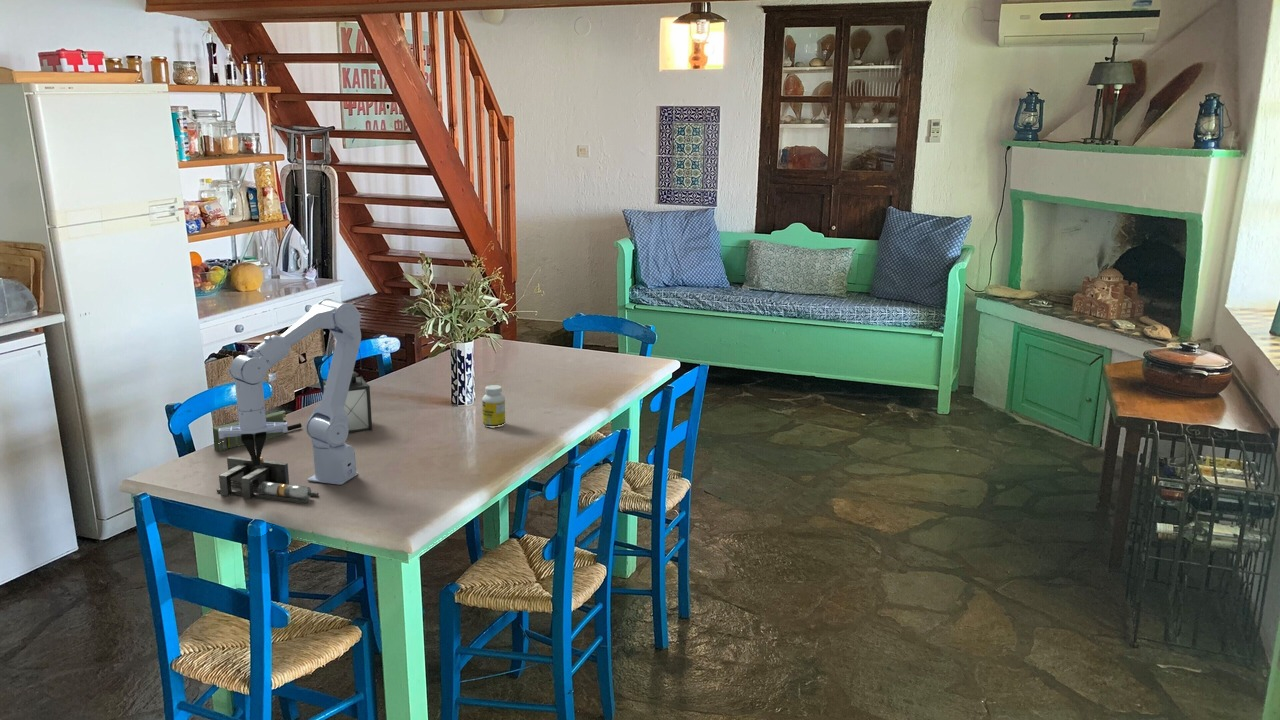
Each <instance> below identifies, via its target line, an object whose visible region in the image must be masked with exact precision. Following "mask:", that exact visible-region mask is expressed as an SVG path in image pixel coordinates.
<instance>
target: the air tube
mask: <svg viewBox="0 0 1280 720" xmlns="http://www.w3.org/2000/svg"><path fill="white" fill-rule="evenodd" d="M311 492H312V490H311V487H309V486H305V485H304V486H303V485H297V484H296V485H295V484H289V485H288V484H280V483H272V482H264V481H263V482H261V483H260V484H259V486H258V489H257V493H258V494H266V495H273V496H281V497H289V498H297V499H305V500H308V501H309V500H310V498H311V497H312V496H311Z"/></svg>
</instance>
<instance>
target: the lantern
mask: <svg viewBox="0 0 1280 720" xmlns="http://www.w3.org/2000/svg"><path fill="white" fill-rule="evenodd" d="M332 335H333V334H332ZM333 337H334V335H333V336H332V337H331V338H330V340H329V343H328V351H327V354H328V356H327V357H328V360H330V344H331V341H332V339H333ZM358 353H359V360H360V361H359V362H360V366H359V367H360V369H362V357H361V349H360V348H359V350H358ZM330 366H331V363H328V370H329V369H330ZM326 381H327V379H326V380H325V379H324V380H322V386H323V388H322V389H323V390H324V389H325V385H326ZM371 401H372V400H371V387H370V384H368V383H367V382H366V381H365V379H364V378H363V376H359V373H358V372H356V371H354V370H353V374H352V378H351V382H350V386H349V390H348V394H347V398H346V402H345V406H344V409H345V411H346V413H347V415H348V417H349V419H348V434H356V433H362V432H368V431H369V432H371V431H372V432H373V423H372V422H373V420H372V404H371V403H372V402H371Z"/></svg>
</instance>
